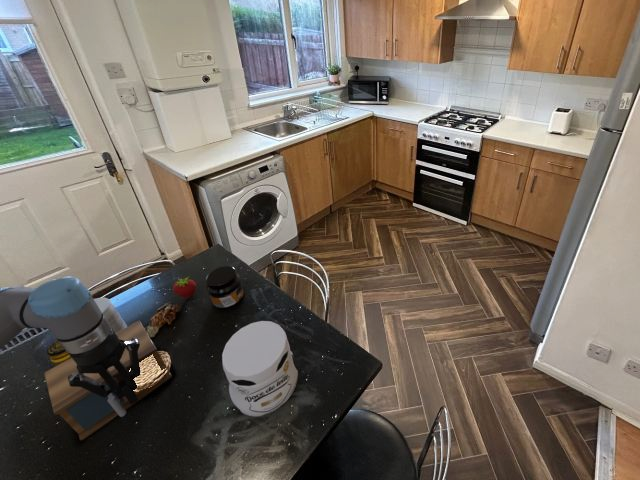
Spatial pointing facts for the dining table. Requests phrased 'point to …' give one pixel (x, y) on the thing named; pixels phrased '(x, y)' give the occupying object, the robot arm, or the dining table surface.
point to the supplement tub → (111, 314)
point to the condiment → (57, 353)
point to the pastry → (161, 318)
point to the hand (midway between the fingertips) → (133, 398)
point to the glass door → (96, 408)
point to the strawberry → (185, 287)
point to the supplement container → (224, 287)
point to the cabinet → (99, 379)
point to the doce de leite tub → (259, 368)
